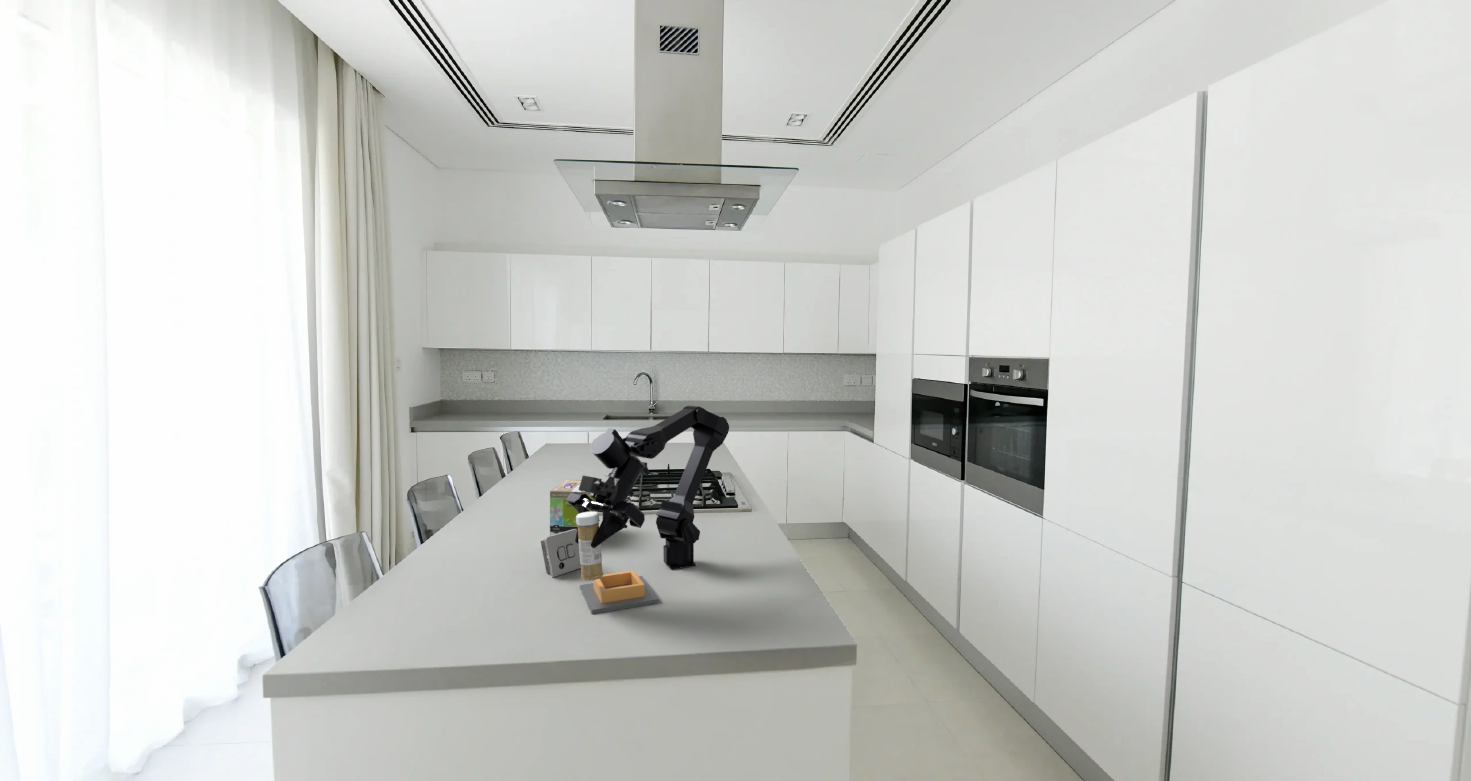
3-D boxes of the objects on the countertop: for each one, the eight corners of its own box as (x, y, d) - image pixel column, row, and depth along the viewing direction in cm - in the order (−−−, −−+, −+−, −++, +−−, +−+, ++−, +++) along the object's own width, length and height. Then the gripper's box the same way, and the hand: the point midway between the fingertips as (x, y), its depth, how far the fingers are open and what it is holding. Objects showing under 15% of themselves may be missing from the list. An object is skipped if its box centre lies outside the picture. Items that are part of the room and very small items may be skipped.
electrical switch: (553, 578, 144) (549, 538, 144) (540, 575, 147) (536, 536, 147) (586, 567, 151) (583, 529, 151) (573, 564, 155) (570, 527, 154)
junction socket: (642, 579, 144) (641, 564, 143) (659, 602, 131) (659, 587, 131) (579, 588, 138) (579, 573, 138) (591, 613, 125) (591, 597, 125)
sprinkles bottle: (595, 571, 133) (590, 509, 132) (607, 576, 130) (603, 512, 129) (576, 578, 130) (571, 514, 129) (589, 583, 127) (583, 517, 126)
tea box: (586, 545, 167) (585, 490, 166) (548, 545, 167) (547, 490, 166) (599, 528, 182) (598, 478, 181) (565, 528, 182) (564, 478, 181)
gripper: (571, 455, 136) (530, 517, 129) (633, 464, 126) (593, 533, 118) (599, 482, 144) (563, 543, 136) (660, 494, 133) (625, 560, 125)
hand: (584, 544), depth 129 cm, fingers closed on sprinkles bottle, 4 cm apart
